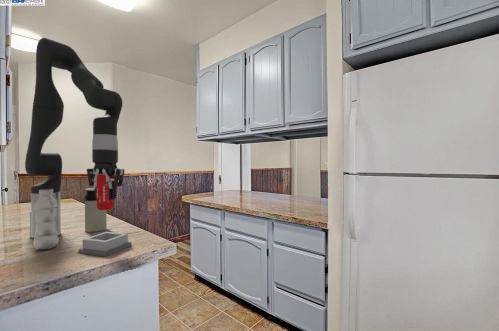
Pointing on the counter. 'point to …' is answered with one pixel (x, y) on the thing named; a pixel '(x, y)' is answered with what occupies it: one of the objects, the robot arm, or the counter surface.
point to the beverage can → (103, 193)
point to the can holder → (105, 244)
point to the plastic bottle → (46, 220)
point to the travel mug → (93, 213)
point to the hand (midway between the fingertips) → (105, 199)
